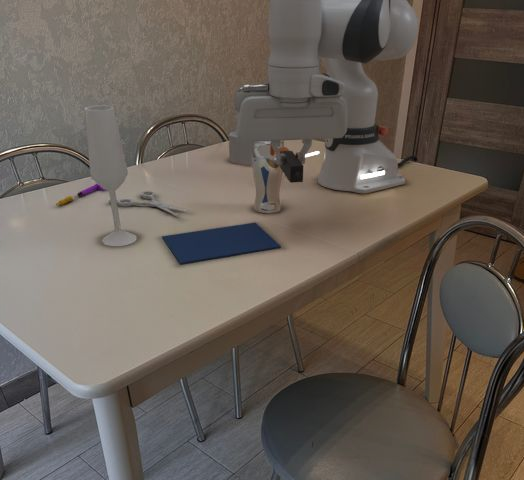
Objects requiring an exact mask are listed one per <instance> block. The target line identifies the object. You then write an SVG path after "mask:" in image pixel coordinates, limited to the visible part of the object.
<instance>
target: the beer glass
mask: <svg viewBox="0 0 524 480" xmlns="http://www.w3.org/2000/svg"><path fill="white" fill-rule="evenodd" d="M281 147H285V140H282V141H280V147H277V148H278V149H279V148H281ZM251 168H252V175H253V180H254V181H253V182H254V187H255V199H254V203H253V209H254V211H255V212H257V213H260V214H275V213H278V212H280V211H281V210H282V204H281V198H280V197H281V196H280V193H281V186H282V181H283V176H284V172H283V171H282V169H281V168H280V165H277V163H276V153H275V151H274V149H273V147H272V146H271V141H258V142H253V147H252V166H251Z"/></svg>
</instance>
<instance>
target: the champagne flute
mask: <svg viewBox="0 0 524 480" xmlns="http://www.w3.org/2000/svg"><path fill="white" fill-rule="evenodd" d="M84 114H85V115H84V116H85V127H86V139H87V151H88V152H87V153H88V163H89V175H90V177H91V179H92V180H93V182H95V184H98V185H100V186H101V187H102V188H104V189H105V190H104V191H108V195H109V200H110V202H111V204H110V208H111V215H112V221H113V226H114V230H113V231H112V232H110V233H108V234H107V235H105V236H104V237H103V238H102V239H101V242H102V244H104V245H105V246H109V247H123V246H127V245H131V244H134V243H135V242H136V241H137V236H136V235H135V234H133V233H131V232H128V231H125V230H124V229H122V226H121V221H120V220H121V219H120V213H119V207H118V206H119V205H118V204H117V200H118V199H117V193H116V191H117V190H118V189H119V188H120V187H121V186H122V185H123V184H124V183H125V181H126V179H127V177H128V174H129V170H128V166H127V161H126V158H125V157H126V156H125V154H124V153H125V152H124V149H123V144H122V139H121V136H120V132H119V127H118V121H117V118H116V113H115V109H114V107H113V106H112V105H101V104H99V105H91V106H87V107H85V108H84Z"/></svg>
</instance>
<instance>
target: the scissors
mask: <svg viewBox="0 0 524 480" xmlns="http://www.w3.org/2000/svg"><path fill="white" fill-rule="evenodd" d="M140 196H141V198H142V199H148V200H151V201H135V200H133V199H132V198H120V199H117V206H120V207H131V206H138V207H140V206H141V207H142V206H147V207H154V208H155V207H156V208H158V209H160V210H163V211H165V212H167V213H169V214H171V215H174V216H175V217H179V218H181V216H180V215H179V214H177V213H175V211H172V210H170V209H173V210H181V211H185V212H190V210H189V209H186V208H181V207H177V206H173V205H168V204H163V203H162V202H160V201H158V200H156V195H155V192H154V191H152V190H144V191H142V192H141V193H140ZM108 204H110V205H111V202H110V199H109V200H108Z"/></svg>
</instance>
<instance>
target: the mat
mask: <svg viewBox="0 0 524 480" xmlns="http://www.w3.org/2000/svg"><path fill="white" fill-rule="evenodd" d="M161 238H162V240H163V241H164V243H165V244H166V246H167V247H168V249H169V250H170V252H171V253H172V255H173V256H174V258H175V260H176V261H177V262H178V264H179V265H186V264H193V263H199V262H204V261H210V260H211V261H212V260H217V259H223V258H227V257H228V258H229V257H234V256H240V255H246V254H252V253H258V252H263V251H264V252H265V251H270V250H271V251H272V250H275V249H282V245H281V244H279V243H278V241H277V240H275V239H274V238H273V237H272V236H271V235H270V234H269V233H267V231H266V230H265V229H263V228H262V227H261V226H260V225H259V224H258V223H256V222H248V223H242V224H235V225H227V226H221V227H216V228H210V229H202V230H196V231H189V232H188V231H187V232H182V233H175V234H169V235H162V236H161Z"/></svg>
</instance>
